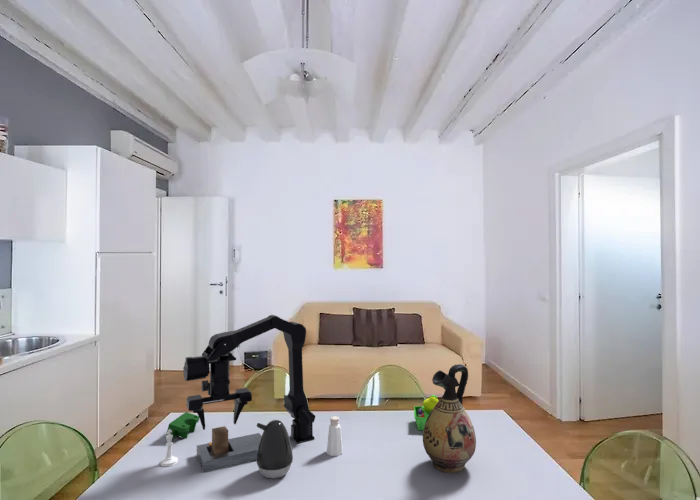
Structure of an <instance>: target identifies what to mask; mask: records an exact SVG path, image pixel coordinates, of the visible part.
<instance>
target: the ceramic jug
mask: <svg viewBox="0 0 700 500" xmlns="http://www.w3.org/2000/svg"><path fill="white" fill-rule="evenodd" d="M468 370H469V369H468V367H466V366H465V365H464V364H460V363H459V364H454V365H451V367H450V368H449V370H448V373H445V372H444V371H442V370H440V369H439V370H438V371H436V372H435V373H434V374H433V377H432V378H431V379H432V380H431V381H432V384H433V385H434V386H437V387H441V388H443V389H444V393H443V394H442V396H441V397H440V399H438V401H439V402H438V403H437V404H436V405H435V407H434V408H433V410H432V411H431V413H430V414H429V416H428V418H427V420H426V423H425V426H424V430H422V431H423V432H422V443H423V444H422V445H423V447H424V451H425V454H426V455H428V456H427V457H429V458H430V461H431V463H432V467H433V468H434V469H435V470H439V471H441V472H442V473H448V474H454V473H460V472H461V471H463V470H464V468H465V466H466V464H467V462H469V461H470V460H471V459H472V457H473V456H474V454H475V452H476V448H477V438H476V432H475V428H474V427H475V426H474V425H473V422H472V419H471V418H470V416H469V414H468V413H467V411H466V408H465V407H464V406H463V404H464V403H463V401H464V400H463V399H464V394H465V389H466V386H467V384H468V380H469V371H468ZM458 372H459V373H460V372H461V375H460V380H459V381H458V379H457V377H456V374H457V373H458ZM456 388H457V390H456Z"/></svg>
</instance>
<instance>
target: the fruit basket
mask: <svg viewBox="0 0 700 500" xmlns="http://www.w3.org/2000/svg"><path fill="white" fill-rule="evenodd" d="M438 402H439V399H438V396H437V395H435V394H431V395H430V396H429V397H428V398H426V399H425V400H423V402H422V406H421V405H419V406H416V405H415V406H414V407H413V409H414V410H413V415H414V419H415V423H416V426H417V427H416V428H417V430H418V431H424V426H425V423H426V420H427V418H428V416H429V414H430V413H431V411H432V410H433V408H434V407H435V405H436V404H437V403H438Z"/></svg>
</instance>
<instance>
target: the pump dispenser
mask: <svg viewBox="0 0 700 500" xmlns="http://www.w3.org/2000/svg"><path fill="white" fill-rule="evenodd" d="M256 427H257V428H258V429H261V430H263V431H262V434H261V439H260V443H259V447H258V453H257V460H256V464H257V467H258V471H259V472H260V474H261V475H262V476H264V477H265V478H267V479H278V478H282V477H283V476H284V475H286V474H287V473H288V472H289V470H290V469H291V467H292V463H293V459H294V455H293V454H294V453H293V447H292V442H291V439H290V435H289V432H288V430H287V427H286V426H285V424H284V423H283V422H282V421H281V420H279V419H273V420H270V421H268V423H267V424H263V423H259V422H257V424H256Z"/></svg>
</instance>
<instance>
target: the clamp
mask: <svg viewBox="0 0 700 500" xmlns="http://www.w3.org/2000/svg"><path fill="white" fill-rule="evenodd" d="M199 421H200V418H199V416H198V414H195V413H190V412H187V411H185V412H184V413H182V414H181V415H179V416H178V417H176V418H175V419H173V420H172V421H170V423H168V426H167V431H166V435H165V437H166V436H167V435H168V434H167V432H168V430H169V429H171V430H172V432H171V435H173V438H172V441H173V440H174V439H176V438H177V437H180V438H183V439H187V438H188V435H189V433H190V432H192V433H194V432H195V431H196V425H197V423H199Z"/></svg>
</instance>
